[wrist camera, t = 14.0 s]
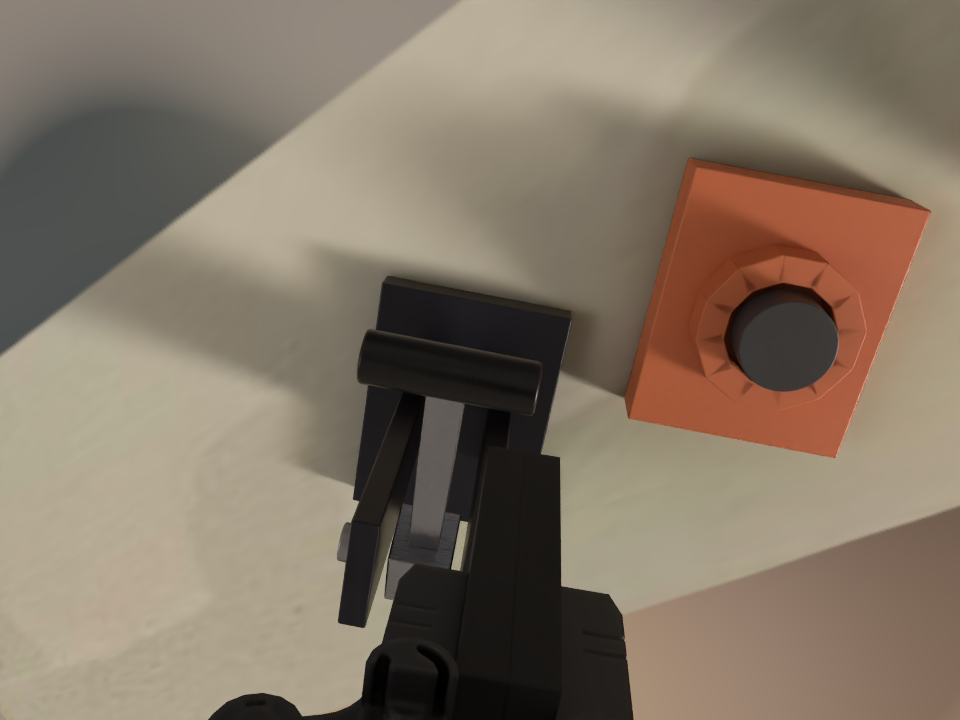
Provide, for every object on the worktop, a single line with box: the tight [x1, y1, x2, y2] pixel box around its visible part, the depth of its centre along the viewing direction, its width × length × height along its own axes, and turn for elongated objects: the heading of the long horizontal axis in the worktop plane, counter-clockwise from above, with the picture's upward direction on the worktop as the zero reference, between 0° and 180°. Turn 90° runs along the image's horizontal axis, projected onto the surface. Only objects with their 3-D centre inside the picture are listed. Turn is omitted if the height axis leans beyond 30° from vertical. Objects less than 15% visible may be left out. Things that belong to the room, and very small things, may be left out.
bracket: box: [337, 276, 572, 628], centre depth 36 cm, size 12×9×15 cm
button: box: [731, 289, 839, 392], centre depth 36 cm, size 4×4×2 cm
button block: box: [625, 158, 931, 458], centre depth 38 cm, size 12×10×4 cm
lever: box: [357, 329, 543, 600], centre depth 28 cm, size 12×5×2 cm, turn 170°
